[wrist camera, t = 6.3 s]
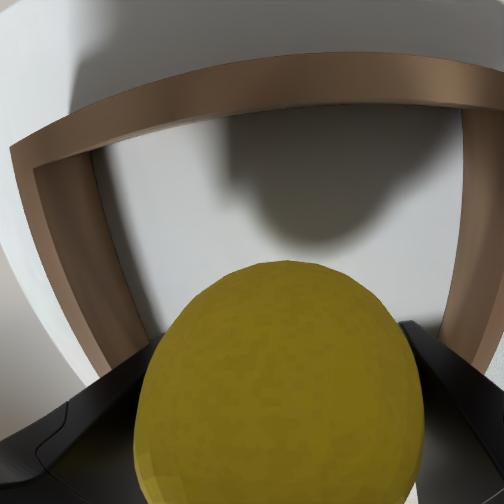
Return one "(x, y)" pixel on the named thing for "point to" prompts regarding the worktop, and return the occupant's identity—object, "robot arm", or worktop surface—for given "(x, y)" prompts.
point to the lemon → (281, 395)
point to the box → (247, 101)
